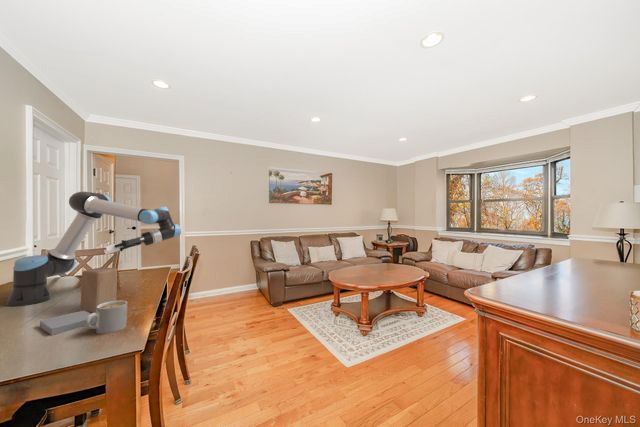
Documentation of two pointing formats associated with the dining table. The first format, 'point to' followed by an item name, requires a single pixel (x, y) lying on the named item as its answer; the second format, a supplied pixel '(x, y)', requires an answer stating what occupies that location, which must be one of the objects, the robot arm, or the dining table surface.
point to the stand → (65, 322)
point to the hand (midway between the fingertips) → (105, 250)
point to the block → (98, 288)
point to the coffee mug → (109, 317)
